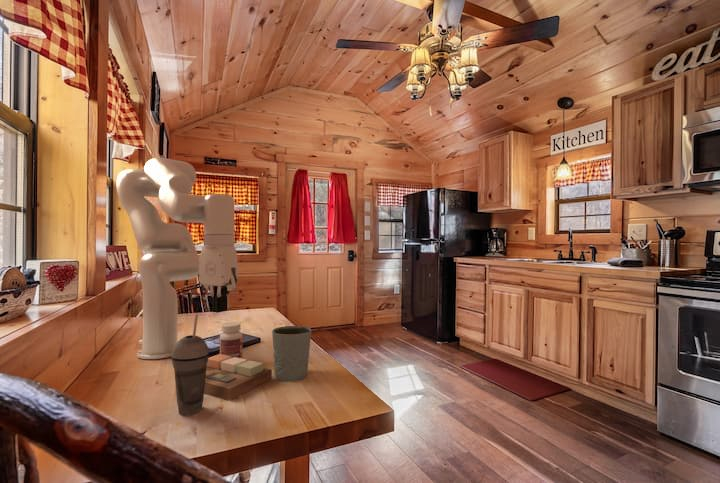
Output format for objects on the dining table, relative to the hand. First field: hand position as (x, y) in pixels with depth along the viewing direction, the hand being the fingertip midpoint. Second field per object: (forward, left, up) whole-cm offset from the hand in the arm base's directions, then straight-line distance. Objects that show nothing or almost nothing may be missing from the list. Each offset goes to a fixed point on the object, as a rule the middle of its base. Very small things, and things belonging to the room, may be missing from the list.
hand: (219, 311), depth 98 cm
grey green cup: (+17, +9, -17) cm, 25 cm away
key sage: (+11, 0, -14) cm, 18 cm away
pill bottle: (-4, +8, -17) cm, 19 cm away
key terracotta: (0, 0, -14) cm, 14 cm away
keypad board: (+5, -3, -17) cm, 18 cm away
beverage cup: (+11, -17, -17) cm, 26 cm away
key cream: (+5, 0, -14) cm, 15 cm away
